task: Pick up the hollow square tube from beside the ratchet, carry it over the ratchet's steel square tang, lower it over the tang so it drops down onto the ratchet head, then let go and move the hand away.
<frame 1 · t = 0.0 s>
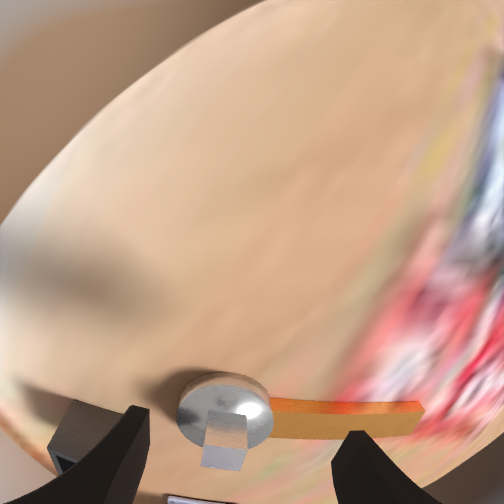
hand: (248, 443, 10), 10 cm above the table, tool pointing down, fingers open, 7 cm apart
hollow square tube: (104, 427, 22), on the table
ratchet: (225, 405, 22), on the table
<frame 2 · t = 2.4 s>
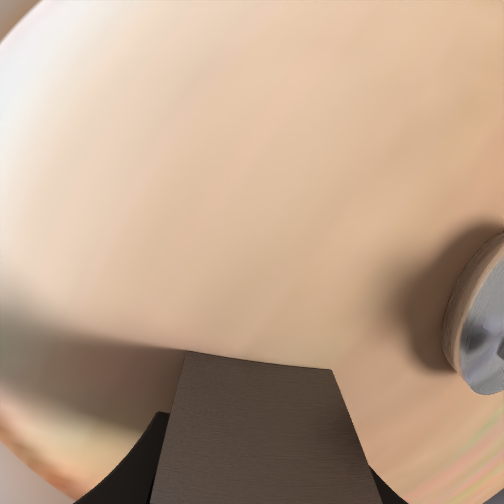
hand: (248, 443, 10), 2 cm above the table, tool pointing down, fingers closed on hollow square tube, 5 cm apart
hollow square tube: (247, 413, 11), on the table, touching gripper
ratchet: (498, 305, 10), on the table
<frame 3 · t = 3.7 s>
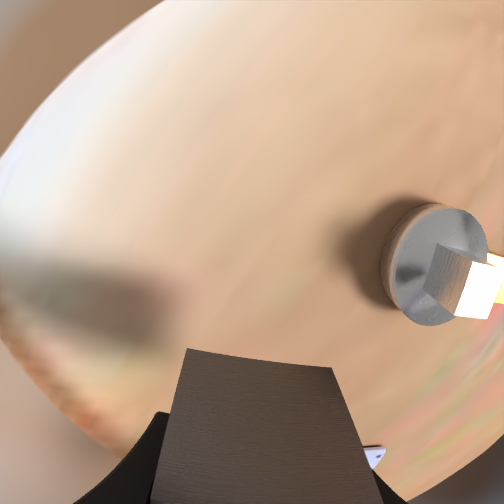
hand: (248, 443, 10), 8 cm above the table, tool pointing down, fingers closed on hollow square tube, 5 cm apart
hollow square tube: (247, 411, 11), point 7 cm above the table, touching gripper
ratchet: (429, 259, 17), on the table
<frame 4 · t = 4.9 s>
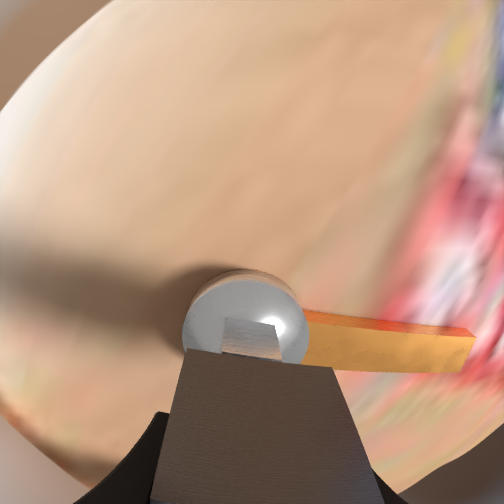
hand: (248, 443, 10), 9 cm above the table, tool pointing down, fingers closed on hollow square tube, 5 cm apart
hollow square tube: (247, 410, 11), point 7 cm above the table, touching gripper
ratchet: (245, 323, 18), on the table
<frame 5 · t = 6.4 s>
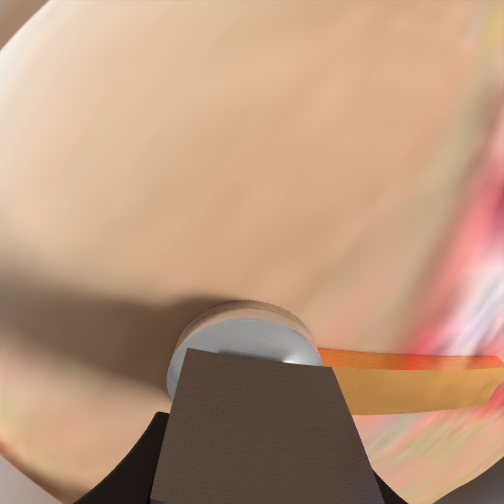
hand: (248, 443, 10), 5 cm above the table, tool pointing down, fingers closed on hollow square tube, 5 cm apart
hollow square tube: (247, 410, 11), point 3 cm above the table, touching gripper
ratchet: (246, 364, 14), on the table
when the fingers open (5 cm above the table, at t = 7.4 s): hollow square tube drops 1 cm, point 2 cm above the table.
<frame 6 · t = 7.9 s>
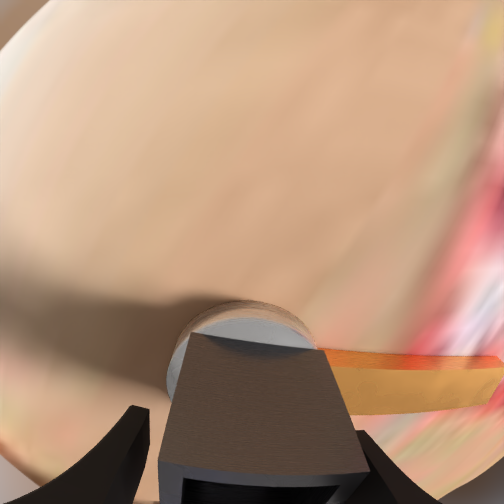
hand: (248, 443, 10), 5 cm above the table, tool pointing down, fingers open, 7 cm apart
hollow square tube: (247, 392, 12), point 2 cm above the table
ratchet: (245, 364, 14), on the table
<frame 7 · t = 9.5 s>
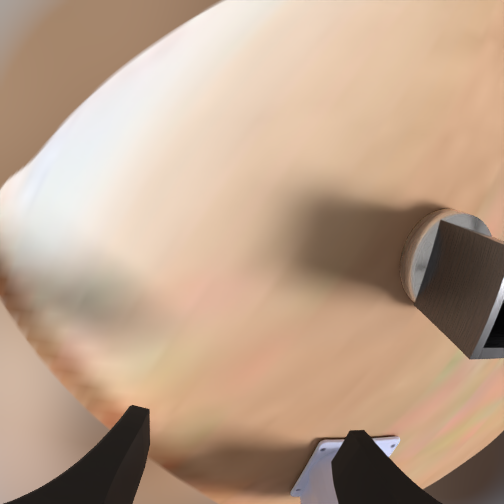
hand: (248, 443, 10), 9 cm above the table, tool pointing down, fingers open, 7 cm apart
hollow square tube: (458, 270, 16), point 2 cm above the table, touching ratchet
ratchet: (441, 259, 18), on the table, touching hollow square tube
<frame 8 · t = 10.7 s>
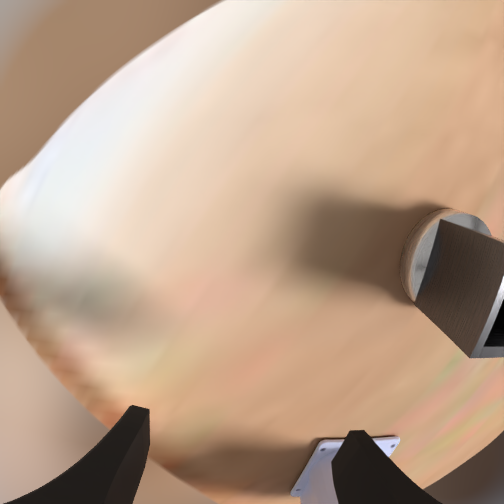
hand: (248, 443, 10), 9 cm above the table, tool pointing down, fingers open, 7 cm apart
hollow square tube: (458, 269, 16), point 2 cm above the table, touching ratchet
ratchet: (441, 259, 18), on the table, touching hollow square tube
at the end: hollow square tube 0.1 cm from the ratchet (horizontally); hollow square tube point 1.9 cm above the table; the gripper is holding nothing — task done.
